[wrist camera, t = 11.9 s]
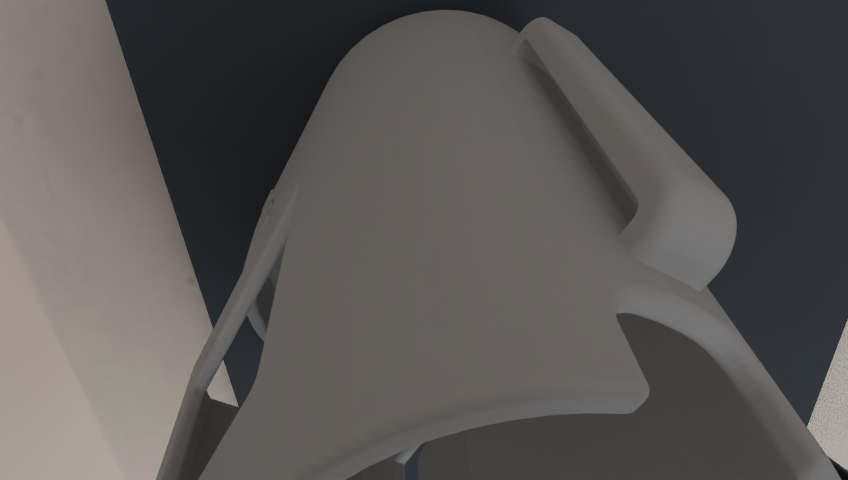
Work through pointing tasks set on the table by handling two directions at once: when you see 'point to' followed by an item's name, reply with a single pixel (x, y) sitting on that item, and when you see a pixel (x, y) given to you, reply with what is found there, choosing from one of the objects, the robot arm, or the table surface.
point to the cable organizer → (488, 285)
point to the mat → (617, 50)
